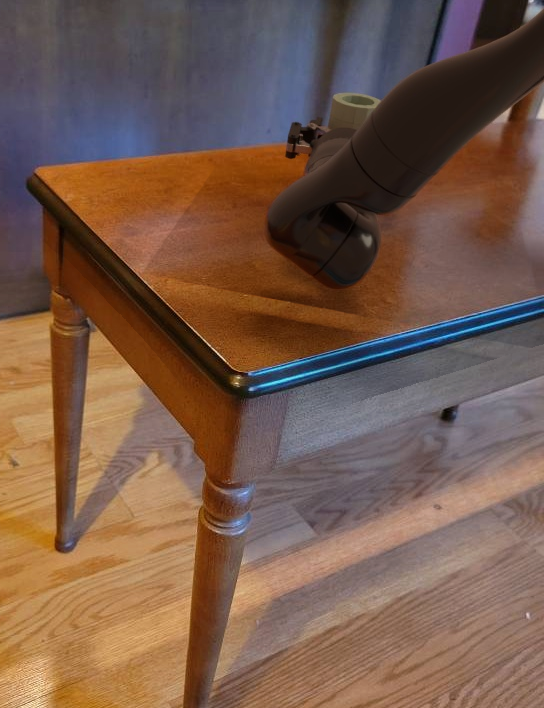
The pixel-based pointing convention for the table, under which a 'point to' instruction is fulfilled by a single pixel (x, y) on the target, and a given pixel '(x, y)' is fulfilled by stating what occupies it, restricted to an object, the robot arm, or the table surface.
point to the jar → (351, 110)
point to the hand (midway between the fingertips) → (352, 130)
